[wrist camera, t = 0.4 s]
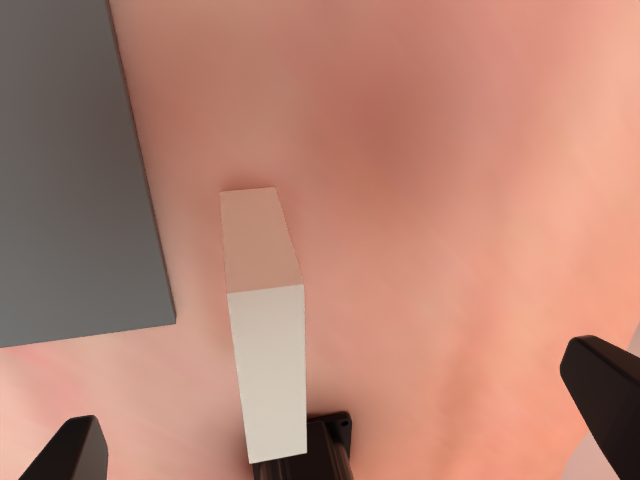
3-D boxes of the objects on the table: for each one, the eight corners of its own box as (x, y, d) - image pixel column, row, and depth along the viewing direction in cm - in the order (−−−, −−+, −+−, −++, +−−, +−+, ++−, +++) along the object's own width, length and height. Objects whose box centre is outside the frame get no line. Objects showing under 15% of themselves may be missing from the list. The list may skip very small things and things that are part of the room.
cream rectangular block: (285, 335, 25) (310, 452, 19) (238, 342, 25) (249, 464, 19) (278, 185, 20) (308, 283, 15) (219, 191, 20) (226, 293, 14)
